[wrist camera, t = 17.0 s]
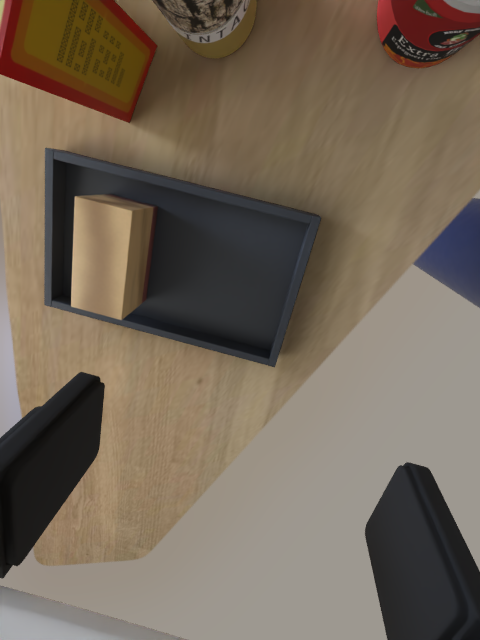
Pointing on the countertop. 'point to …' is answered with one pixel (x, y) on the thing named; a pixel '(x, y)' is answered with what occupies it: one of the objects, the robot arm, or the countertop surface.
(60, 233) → the tray
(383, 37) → the canned food
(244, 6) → the paper tube
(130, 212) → the wooden block
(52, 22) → the baking soda box
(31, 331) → the countertop surface
